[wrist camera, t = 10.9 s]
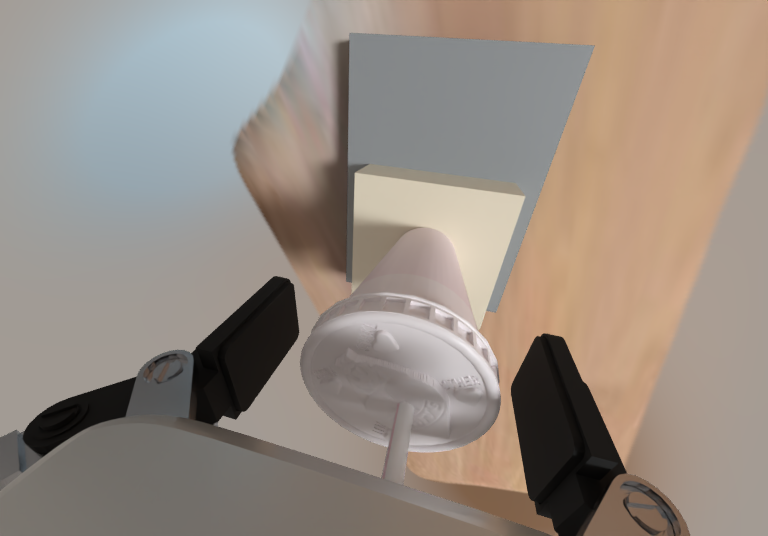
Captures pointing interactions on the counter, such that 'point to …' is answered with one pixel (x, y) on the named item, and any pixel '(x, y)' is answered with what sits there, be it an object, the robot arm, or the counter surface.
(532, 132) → the base board
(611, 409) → the counter surface
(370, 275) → the smoothie
